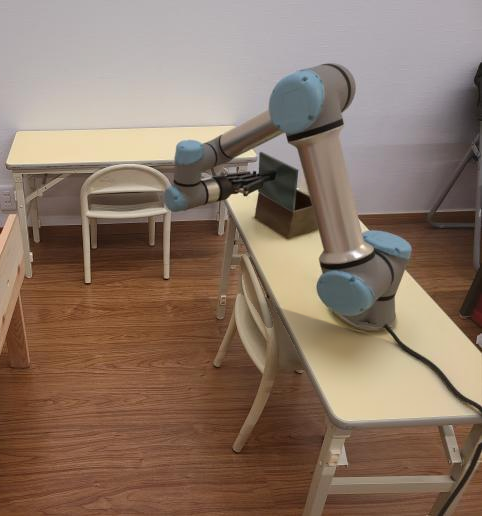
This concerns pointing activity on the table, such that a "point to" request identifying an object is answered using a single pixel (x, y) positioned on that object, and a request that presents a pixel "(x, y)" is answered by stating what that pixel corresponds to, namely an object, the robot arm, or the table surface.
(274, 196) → the lid
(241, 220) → the table surface
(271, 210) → the chest
